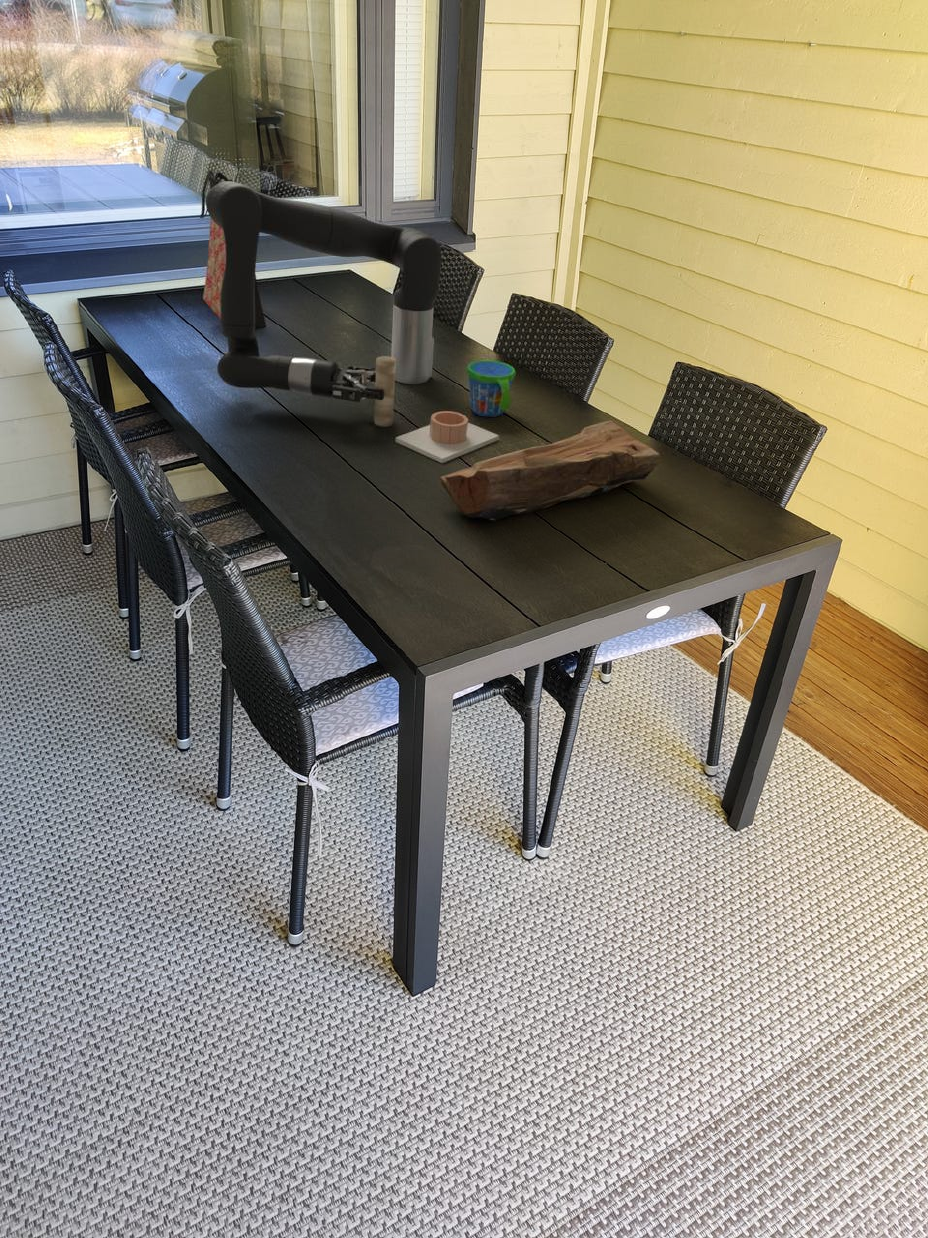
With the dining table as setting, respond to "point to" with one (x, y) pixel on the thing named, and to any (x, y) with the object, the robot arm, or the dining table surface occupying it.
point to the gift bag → (220, 261)
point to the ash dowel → (385, 390)
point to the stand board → (446, 452)
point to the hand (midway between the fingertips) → (388, 387)
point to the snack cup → (490, 387)
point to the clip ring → (448, 427)
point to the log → (551, 473)
